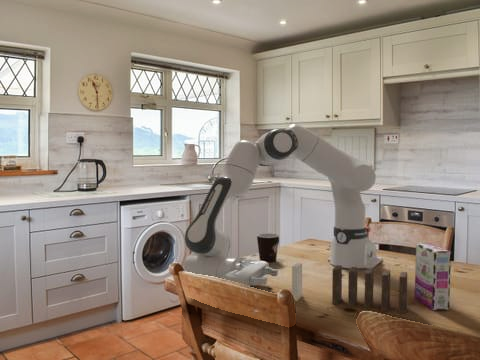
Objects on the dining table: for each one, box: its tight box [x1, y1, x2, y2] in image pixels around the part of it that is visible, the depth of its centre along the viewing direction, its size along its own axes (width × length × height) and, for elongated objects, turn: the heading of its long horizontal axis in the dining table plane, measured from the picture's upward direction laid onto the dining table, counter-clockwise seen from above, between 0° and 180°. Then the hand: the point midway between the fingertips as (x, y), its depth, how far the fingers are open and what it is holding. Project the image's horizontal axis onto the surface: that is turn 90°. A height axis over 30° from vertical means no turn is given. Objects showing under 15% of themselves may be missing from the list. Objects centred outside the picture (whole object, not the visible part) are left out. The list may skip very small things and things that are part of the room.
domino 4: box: [380, 269, 391, 312], centre depth 125 cm, size 2×5×10 cm, turn 155°
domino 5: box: [398, 271, 408, 315], centre depth 123 cm, size 2×5×10 cm, turn 155°
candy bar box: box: [414, 242, 452, 312], centre depth 128 cm, size 11×5×16 cm, turn 5°
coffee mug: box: [256, 232, 280, 264], centre depth 178 cm, size 12×9×10 cm
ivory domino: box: [291, 262, 303, 302], centre depth 134 cm, size 2×5×10 cm, turn 156°
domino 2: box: [347, 267, 359, 308], centre depth 129 cm, size 2×5×10 cm, turn 155°
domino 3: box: [364, 268, 375, 310], centre depth 127 cm, size 2×5×10 cm, turn 155°
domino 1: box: [331, 265, 343, 305], centre depth 131 cm, size 2×5×10 cm, turn 155°
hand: (272, 277), depth 137 cm, fingers open, 8 cm apart
